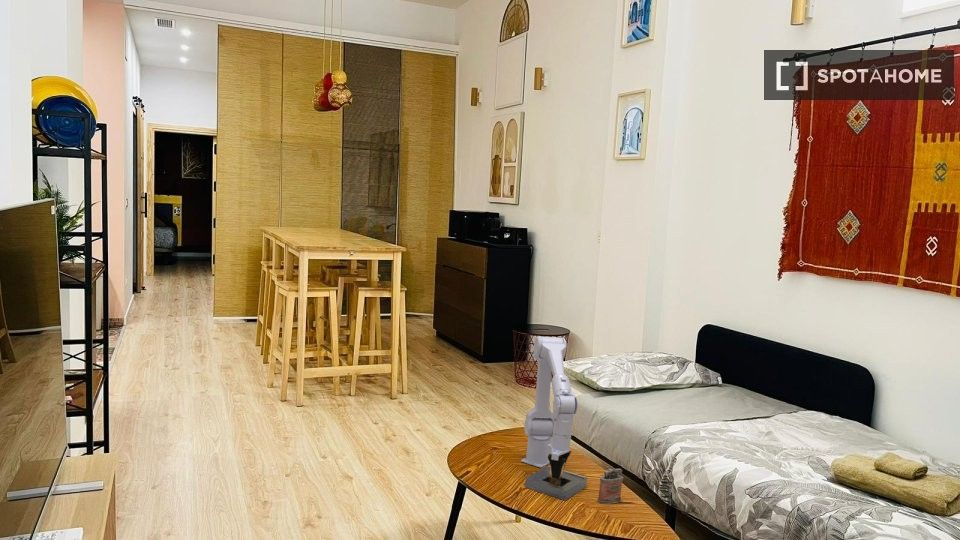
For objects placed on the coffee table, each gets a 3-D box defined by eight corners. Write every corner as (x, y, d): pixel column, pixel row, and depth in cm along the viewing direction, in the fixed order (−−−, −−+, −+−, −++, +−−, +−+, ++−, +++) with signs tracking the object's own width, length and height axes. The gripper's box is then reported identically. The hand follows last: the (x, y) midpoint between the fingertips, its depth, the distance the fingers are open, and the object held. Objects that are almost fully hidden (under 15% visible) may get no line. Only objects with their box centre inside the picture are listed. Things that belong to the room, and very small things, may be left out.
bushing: (548, 481, 231) (553, 457, 231) (561, 485, 230) (566, 461, 229) (544, 486, 227) (549, 461, 226) (558, 490, 226) (563, 465, 225)
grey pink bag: (601, 504, 221) (605, 472, 219) (595, 500, 223) (598, 468, 222) (622, 501, 224) (626, 470, 223) (616, 497, 227) (619, 466, 226)
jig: (547, 474, 241) (548, 464, 241) (586, 486, 233) (587, 476, 233) (524, 487, 228) (525, 476, 228) (565, 500, 221) (566, 490, 221)
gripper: (554, 424, 235) (550, 465, 236) (543, 437, 221) (539, 480, 223) (576, 428, 233) (571, 469, 234) (566, 441, 219) (561, 485, 220)
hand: (557, 475), depth 228 cm, fingers closed on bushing, 4 cm apart
